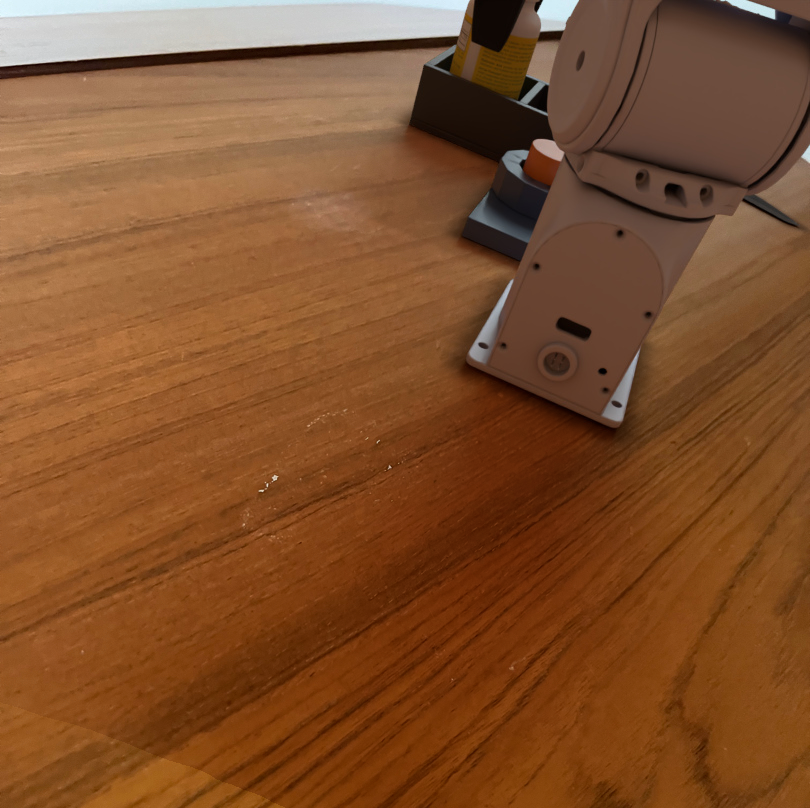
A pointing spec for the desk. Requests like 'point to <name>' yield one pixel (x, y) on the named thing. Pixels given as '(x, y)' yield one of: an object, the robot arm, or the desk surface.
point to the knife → (768, 208)
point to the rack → (479, 111)
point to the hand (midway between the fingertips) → (499, 36)
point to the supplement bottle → (498, 54)
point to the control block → (508, 208)
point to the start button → (543, 161)
